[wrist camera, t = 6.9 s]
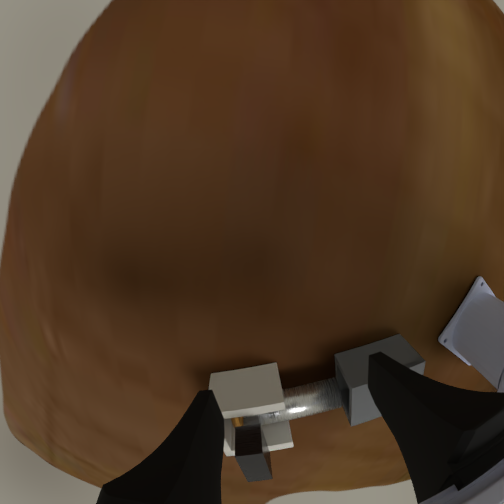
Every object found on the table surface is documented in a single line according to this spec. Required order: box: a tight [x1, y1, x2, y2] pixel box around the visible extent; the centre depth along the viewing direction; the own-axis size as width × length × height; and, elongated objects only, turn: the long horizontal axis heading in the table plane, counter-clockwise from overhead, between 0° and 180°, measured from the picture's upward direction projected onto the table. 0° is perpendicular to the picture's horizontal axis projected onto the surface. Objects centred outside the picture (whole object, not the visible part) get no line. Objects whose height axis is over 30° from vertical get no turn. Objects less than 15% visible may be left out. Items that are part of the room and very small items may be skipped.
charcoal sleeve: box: [334, 334, 425, 426], centre depth 20 cm, size 6×5×5 cm
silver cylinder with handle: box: [231, 377, 342, 482], centre depth 18 cm, size 9×4×8 cm, turn 102°
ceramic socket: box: [209, 362, 294, 456], centre depth 20 cm, size 6×6×5 cm
